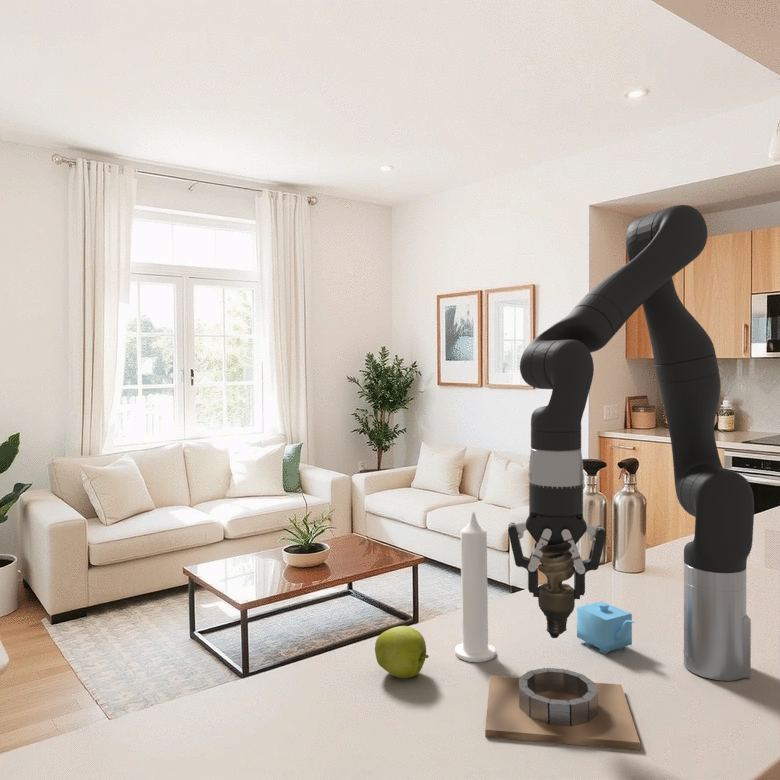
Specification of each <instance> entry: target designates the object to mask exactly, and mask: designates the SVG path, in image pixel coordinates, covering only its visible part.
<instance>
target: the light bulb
mask: <svg viewBox="0 0 780 780" xmlns="http://www.w3.org/2000/svg"><path fill="white" fill-rule="evenodd" d="M571 546H572V545H571V543H568V542H566V543H565V542H563V543H560V544H557V545H548V546H543V547H542V548H541V549H539V550H541V551H542V553H543V555H542V558H540V559H539V560H540V561H539V563H540V564H538V566H537V568H538V572H540V573H543V575H545V577H546V579H547V580H546V582H543V583H542V584H541V585H538V597H537V598H538V600H537V601H538V607H539V609H540V610H541V612H542V613H543V614H544V616H545V618H546V619H545V620H546V632H547V633H548V634H549V635H550V638H552V639H557V638H559V637H560V635H562V634H564V632H567V630H568V629H567V622H568V618H569V617H570V616H571V614H572V613H573V612H574V610H575V606H576V602H575V601H576V599H575V590H574V587H572V586H571V585H570V584H567V583H563V582H564V581H567V580H569V579H571V578H572V577H574V572H575V570H576V568H575V566H574V561H572V559H571V557H572V553H571V552H570V551H569V549H570V548H571ZM572 551H574V550H572Z"/></svg>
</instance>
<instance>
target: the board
mask: <svg viewBox="0 0 780 780" xmlns="http://www.w3.org/2000/svg"><path fill="white" fill-rule="evenodd" d="M519 678H520V676H519V677H518V676H517V677H516V676H505V675H490V676H489V685H488V695H487V706H486V707H487V709H486V715H485V716H486V719H485V720H486V721H485V727H484V728H485V730H484V732H485V734H484V735H485V738H495V739H507V740H520V741H530V742H531V741H532V742H543V743H553V744H554V743H555V744H565V745H575V746H577V745H578V746H589V747H600V748H601V747H602V748H612V749H625V750H636V751H640V750H641V741H640V739H639V736H638V732H637V729H636V727H635V723H634V721H633V720H634V719H633V717H632V714H631V710H630V707H629V704H628V701H627V697H626V695H625V692H624V687H623V685H622V684H619V683H617V684H616V683H606V682H594V683H595V684H596V688H597V692H598V713H597V715H596V716H595V717H594V718H593V719H592V720H591V721H590V722H588V723H584V724H580V725H576V726H570V727H569V726H557V725H550V723H549V724H545V723H543V722H540V721H537V720H534V719H532V718H531V717H528V716H527V715H526V714H525V713H524V712H523V711H522V710H521V709H520V707H519ZM536 694H537V695H540V696H542V697H545V698H548V699H553V700H567V701H568V700H573V699H577V698H579V697H577V696H574V695H571V694H568V693H565V692H556V691H545V692H541V693H536Z"/></svg>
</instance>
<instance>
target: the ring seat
mask: <svg viewBox="0 0 780 780" xmlns="http://www.w3.org/2000/svg"><path fill="white" fill-rule="evenodd" d="M595 683H596V682H594V681H593V680H592V679H591V678H589V677H587V676H586V675H584V674H583V673H580V672H576V671H573V670H570V669H565V668H556V667H555V668H554V667H552V668H551V667H542V668H538V669H533V670H529V671H527V672H525V673H523V674H522V675H521V676H519V707H520V709H521V710H522V711H523V712H524V713H525V714H526V715H527V716H528V717H531V718H532V719H534V720H537V721H540V722H543V723H545V724H549V723H550V725H557V726H569V727H570V726H576V725H580V724H584V723H588V722H590V721H591V720H592V719H593V718H594V717H595V716H596V715H597V713H598V692H597V688H596V684H595ZM545 691H556V692H565V693H568V694H571V695H574V696H577V697H579V698H577V699H573V700H568V701H567V700H553V699H548V698H545V697H542V696H540V695H537V694H536V693H541V692H545Z"/></svg>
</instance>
